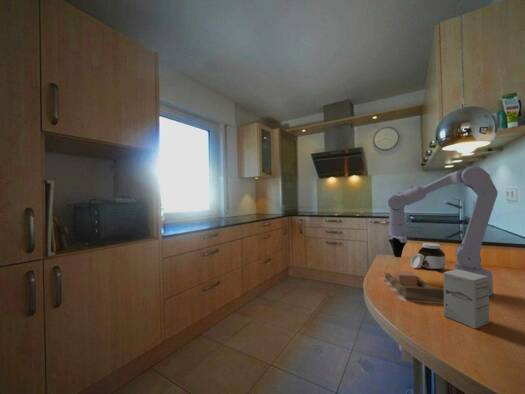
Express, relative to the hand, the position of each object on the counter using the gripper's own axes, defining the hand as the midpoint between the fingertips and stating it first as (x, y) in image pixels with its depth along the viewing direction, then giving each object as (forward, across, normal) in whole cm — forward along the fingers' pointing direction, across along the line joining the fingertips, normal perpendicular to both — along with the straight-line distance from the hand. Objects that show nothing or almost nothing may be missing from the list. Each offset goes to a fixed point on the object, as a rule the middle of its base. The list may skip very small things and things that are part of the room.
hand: (397, 256), depth 95 cm
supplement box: (+9, +32, +6) cm, 34 cm away
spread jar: (+9, -16, +18) cm, 26 cm away
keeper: (+8, +8, 0) cm, 11 cm away
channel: (+9, +12, 0) cm, 15 cm away
